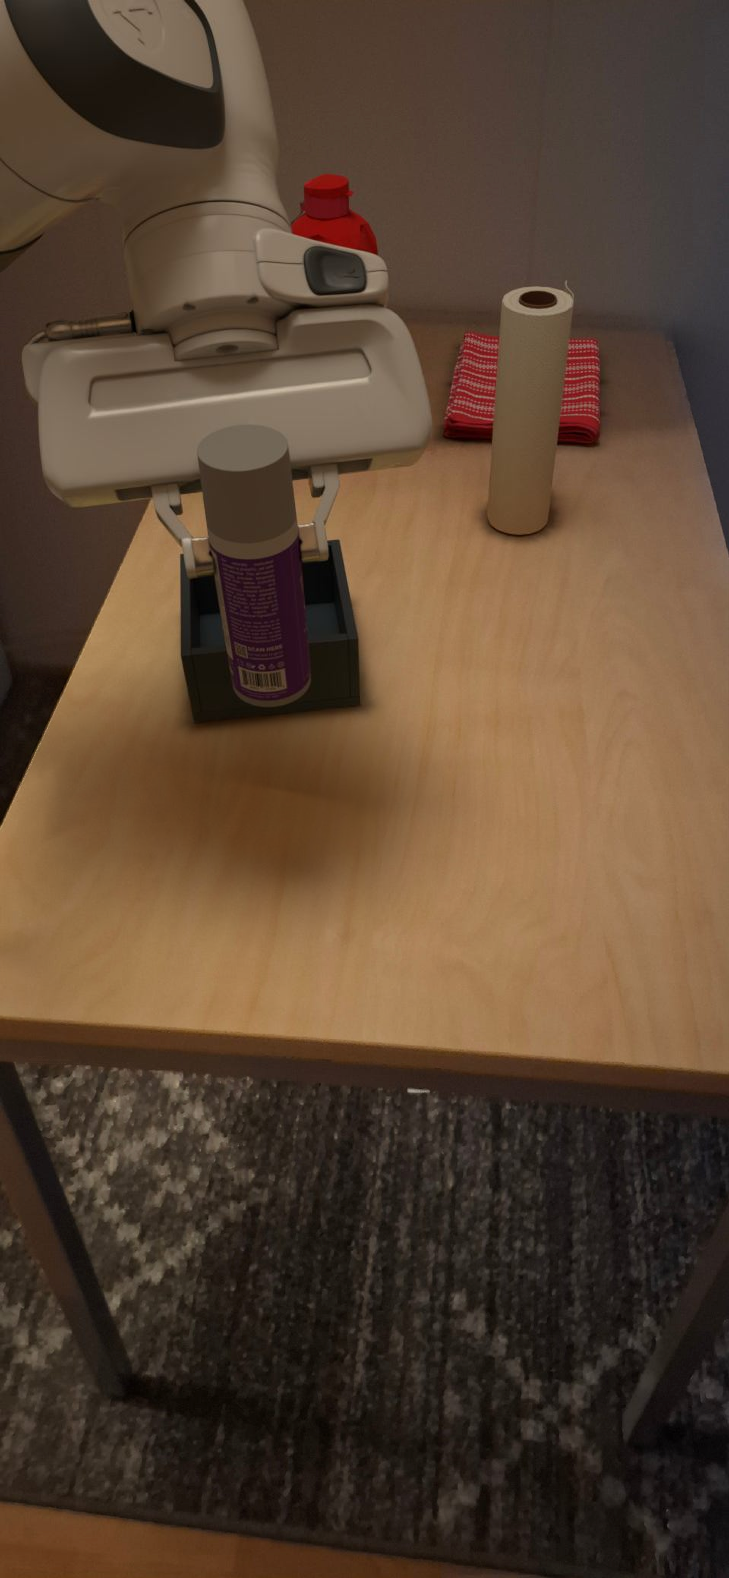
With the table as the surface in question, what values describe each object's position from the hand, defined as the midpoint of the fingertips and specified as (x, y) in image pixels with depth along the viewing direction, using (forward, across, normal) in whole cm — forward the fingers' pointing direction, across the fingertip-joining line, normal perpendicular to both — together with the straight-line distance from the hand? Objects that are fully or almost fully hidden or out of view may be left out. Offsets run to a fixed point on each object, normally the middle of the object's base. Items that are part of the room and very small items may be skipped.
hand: (259, 568), depth 55 cm
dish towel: (-27, +36, +64) cm, 78 cm away
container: (+6, 0, +6) cm, 9 cm away
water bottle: (-26, +13, +62) cm, 69 cm away
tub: (+2, +1, +34) cm, 34 cm away
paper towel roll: (-10, +28, +46) cm, 55 cm away
